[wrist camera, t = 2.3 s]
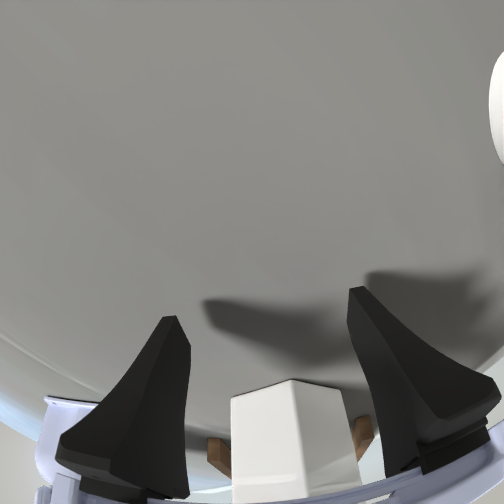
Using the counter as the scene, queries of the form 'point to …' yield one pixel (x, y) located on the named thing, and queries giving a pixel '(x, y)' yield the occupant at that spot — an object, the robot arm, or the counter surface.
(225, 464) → the bay
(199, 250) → the counter surface
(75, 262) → the counter surface
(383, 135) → the counter surface
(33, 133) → the counter surface
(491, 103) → the cylindrical container
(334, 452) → the jar
